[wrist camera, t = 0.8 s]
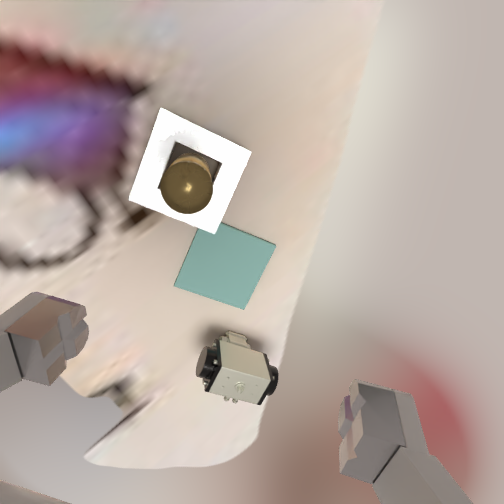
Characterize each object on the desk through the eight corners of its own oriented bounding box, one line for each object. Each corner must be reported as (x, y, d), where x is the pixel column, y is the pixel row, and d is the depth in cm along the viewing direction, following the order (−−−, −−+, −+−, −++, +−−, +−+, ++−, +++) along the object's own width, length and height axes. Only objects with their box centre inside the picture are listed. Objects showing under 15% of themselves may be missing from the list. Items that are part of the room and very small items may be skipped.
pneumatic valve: (206, 319, 54) (208, 368, 43) (268, 339, 57) (284, 389, 46) (194, 345, 55) (192, 399, 44) (254, 363, 58) (267, 418, 47)
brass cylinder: (179, 146, 44) (171, 152, 31) (215, 162, 45) (221, 175, 32) (166, 181, 45) (152, 202, 32) (201, 196, 46) (201, 221, 34)
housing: (164, 109, 42) (160, 107, 38) (247, 150, 45) (251, 151, 41) (134, 194, 45) (128, 199, 41) (213, 226, 48) (214, 234, 45)
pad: (203, 215, 47) (203, 216, 47) (275, 244, 51) (276, 246, 50) (174, 284, 51) (174, 286, 50) (243, 307, 54) (244, 309, 53)
